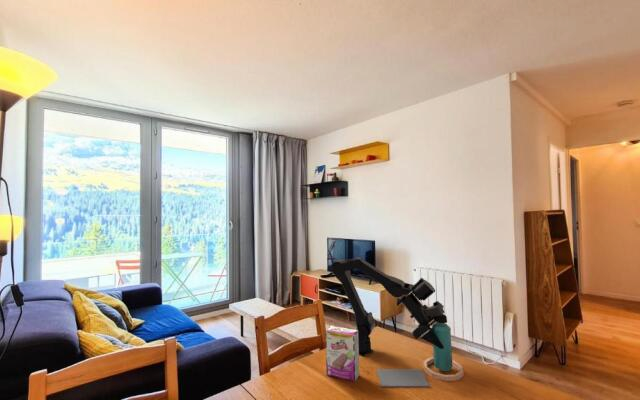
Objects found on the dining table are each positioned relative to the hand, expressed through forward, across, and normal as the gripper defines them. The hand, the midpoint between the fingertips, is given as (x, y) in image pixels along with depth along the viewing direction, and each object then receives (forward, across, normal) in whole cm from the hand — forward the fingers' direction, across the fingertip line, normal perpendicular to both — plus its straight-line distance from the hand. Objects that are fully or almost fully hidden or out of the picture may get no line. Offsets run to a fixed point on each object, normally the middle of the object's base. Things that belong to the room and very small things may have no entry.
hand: (445, 345), depth 109 cm
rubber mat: (-1, -14, +14) cm, 20 cm away
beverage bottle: (+6, 0, +8) cm, 10 cm away
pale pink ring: (+6, 0, +8) cm, 10 cm away
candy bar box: (-13, -25, +27) cm, 39 cm away
